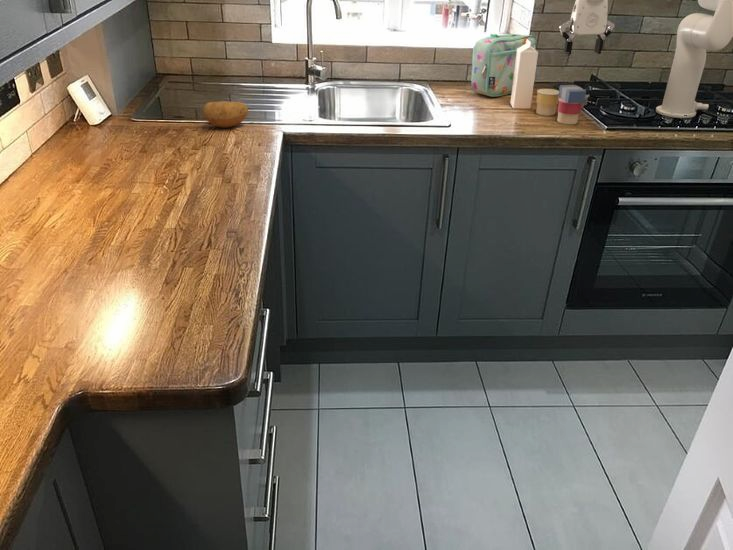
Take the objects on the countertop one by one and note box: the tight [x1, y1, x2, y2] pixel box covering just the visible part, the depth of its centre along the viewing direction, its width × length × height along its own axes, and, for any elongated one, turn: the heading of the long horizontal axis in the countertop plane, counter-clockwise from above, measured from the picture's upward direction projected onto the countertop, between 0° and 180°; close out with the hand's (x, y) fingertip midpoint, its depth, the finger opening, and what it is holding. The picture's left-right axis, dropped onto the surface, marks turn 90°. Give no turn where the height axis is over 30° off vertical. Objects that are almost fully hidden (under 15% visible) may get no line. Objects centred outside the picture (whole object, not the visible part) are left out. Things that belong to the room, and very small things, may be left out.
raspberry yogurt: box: [556, 98, 582, 125], centre depth 198 cm, size 8×8×7 cm
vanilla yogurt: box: [535, 88, 559, 117], centre depth 207 cm, size 8×8×7 cm
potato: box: [202, 100, 249, 129], centre depth 192 cm, size 10×14×8 cm
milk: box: [509, 39, 539, 109], centre depth 210 cm, size 6×6×22 cm
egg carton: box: [556, 94, 590, 109], centre depth 216 cm, size 11×8×4 cm
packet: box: [558, 84, 587, 103], centre depth 195 cm, size 6×8×4 cm
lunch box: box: [470, 33, 537, 98], centre depth 225 cm, size 27×10×21 cm, turn 127°
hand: (582, 53), depth 190 cm, fingers open, 9 cm apart
